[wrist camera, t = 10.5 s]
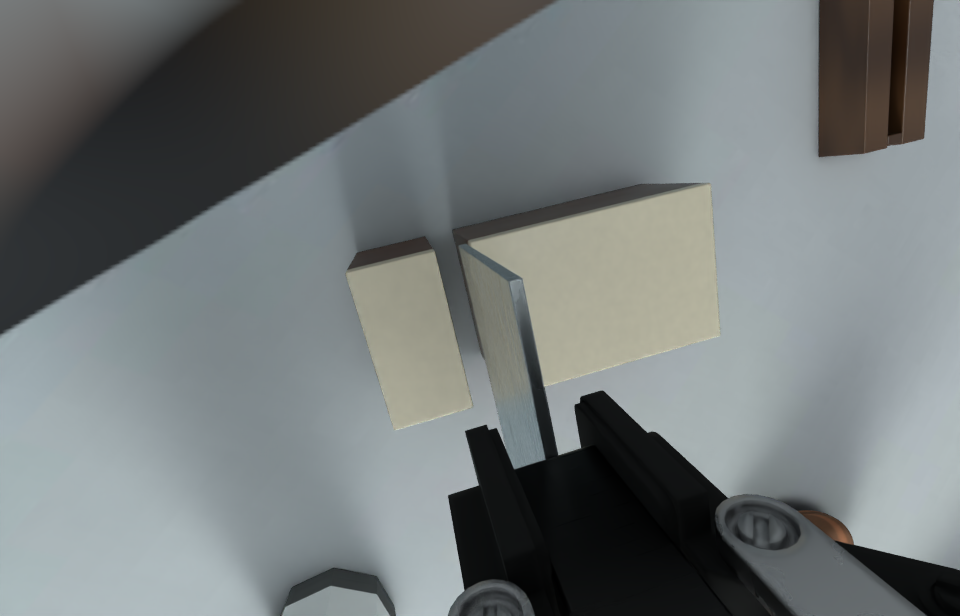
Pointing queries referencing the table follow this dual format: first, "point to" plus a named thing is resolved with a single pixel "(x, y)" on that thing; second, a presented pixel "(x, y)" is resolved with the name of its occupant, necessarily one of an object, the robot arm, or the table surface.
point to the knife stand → (872, 74)
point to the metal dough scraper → (575, 479)
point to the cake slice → (409, 331)
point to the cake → (610, 274)
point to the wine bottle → (339, 596)
